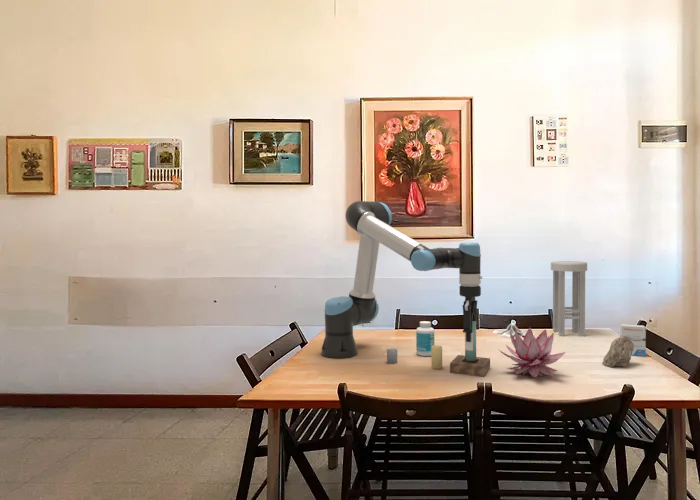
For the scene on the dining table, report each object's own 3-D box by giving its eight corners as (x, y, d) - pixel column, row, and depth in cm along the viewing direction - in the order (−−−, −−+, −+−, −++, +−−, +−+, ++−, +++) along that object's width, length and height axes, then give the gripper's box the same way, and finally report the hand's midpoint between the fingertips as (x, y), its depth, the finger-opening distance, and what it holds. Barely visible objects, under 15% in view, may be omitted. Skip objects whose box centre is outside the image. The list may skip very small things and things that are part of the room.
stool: (547, 330, 238) (547, 261, 236) (579, 330, 236) (580, 260, 234) (556, 337, 222) (556, 263, 221) (591, 337, 220) (591, 263, 219)
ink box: (643, 353, 191) (644, 325, 191) (645, 356, 187) (646, 327, 186) (619, 351, 195) (620, 323, 194) (621, 354, 190) (621, 325, 190)
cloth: (543, 338, 222) (543, 325, 222) (508, 341, 218) (508, 328, 218) (516, 329, 244) (516, 317, 243) (483, 331, 240) (483, 319, 239)
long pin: (463, 360, 172) (463, 322, 171) (466, 357, 175) (466, 320, 175) (475, 361, 170) (474, 323, 169) (477, 358, 173) (477, 321, 173)
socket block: (450, 372, 170) (449, 362, 170) (458, 363, 181) (458, 354, 181) (483, 376, 165) (483, 366, 164) (490, 367, 175) (490, 358, 175)
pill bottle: (434, 357, 191) (434, 324, 190) (415, 356, 192) (415, 323, 192) (434, 352, 198) (434, 320, 198) (417, 351, 200) (416, 320, 199)
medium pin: (430, 368, 175) (430, 347, 175) (433, 365, 179) (433, 344, 179) (440, 369, 174) (440, 348, 173) (443, 366, 177) (443, 345, 177)
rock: (627, 354, 167) (604, 343, 173) (619, 377, 172) (597, 366, 177) (642, 340, 175) (620, 330, 181) (634, 362, 180) (612, 352, 185)
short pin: (385, 363, 183) (385, 350, 183) (389, 360, 187) (389, 348, 187) (395, 364, 182) (394, 351, 181) (398, 361, 185) (398, 349, 185)
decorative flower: (559, 387, 153) (559, 341, 152) (493, 377, 164) (492, 334, 164) (568, 369, 171) (568, 328, 170) (508, 362, 182) (508, 323, 182)
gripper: (475, 288, 162) (476, 355, 163) (485, 282, 177) (485, 344, 178) (453, 287, 165) (454, 353, 166) (465, 282, 181) (465, 342, 182)
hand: (470, 348), depth 172 cm, fingers closed on long pin, 4 cm apart
